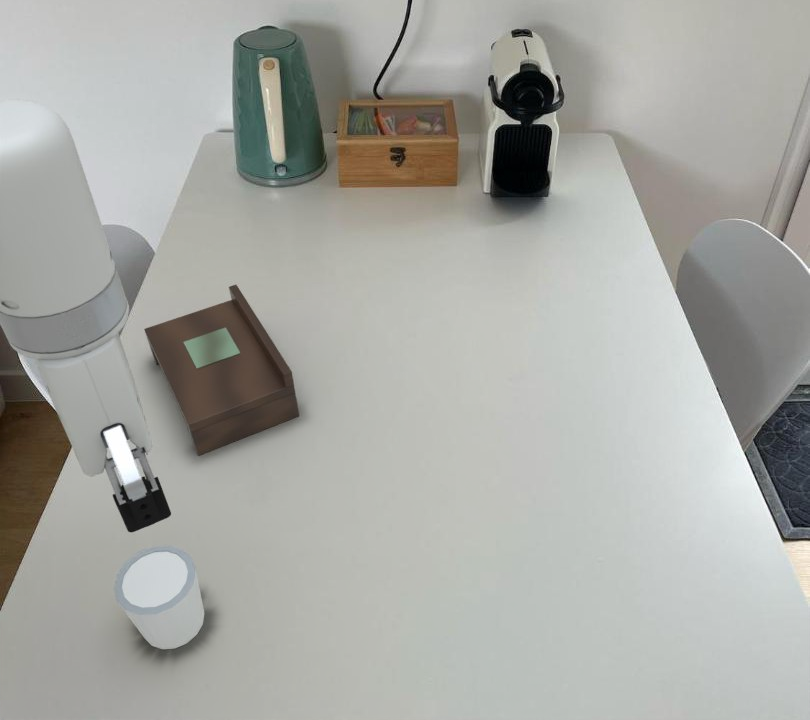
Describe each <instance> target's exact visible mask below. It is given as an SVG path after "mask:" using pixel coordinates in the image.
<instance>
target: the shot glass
mask: <svg viewBox="0 0 810 720" xmlns="http://www.w3.org/2000/svg"><path fill="white" fill-rule="evenodd" d="M113 592H114V594H115V598H116V602H117V603H118V605H119V607H121V609H122V610H123V611H124V613H125V614H126V615H127V617H128V618H129V620H130V621H131V622H132V623H133V625H134V626H135V628H136V629H137V630H138V632H139V633H140V634H141V636H142V637H143V639H144V640H146V642H147V643H148V644H149V645H150V646H151V647H154V648H156V649H160V650H173V649H178V648H179V647H182V646H184V645H187V644H188V643H189V642H190V641H192V640H193V639H194V638H195V637H196V636H197V635H198V633H199V631H200V630H201V628H202V627H203V624H204V620H205V608H204V605H203V604H204V603H203V598H202V593H201V589H200V585H199V578H198V573H197V570H196V566H195V563H194V560H193V557H192V556H191V555H189V553H187V552H186V551H185V550H184V549H183V548H180V547H177V546H174V545H171V544H169V545H168V544H167V545H166V544H165V545H154V546H151V547H149V548H146V549H143V550H141V551H138V552H137V553H136V554H135V555H133V556H132V557H131V558H129V559H128V560H127V561H125V562H124V564H123V566H122V568H121V569H120V570H119V571H118V573H116V578H115V581H114V587H113Z"/></svg>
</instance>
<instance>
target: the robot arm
mask: <svg viewBox="0 0 810 720" xmlns="http://www.w3.org/2000/svg"><path fill="white" fill-rule="evenodd" d="M103 227H104V226H103V224H102V221H101V218H100V215H99V212H98V209H97V205H96V203H95V199H94V197H93V194H92V191H91V189H90V185H89V183H88V179H87V176H86V173H85V170H84V167H83V164H82V161H81V158H80V155H79V152H78V150H77V146H76V144H75V141H74V137H73V136H72V133H71V131H70V128H69V127H68V125H67V123H66V121H64V119H63V118H62V117H61V116H60V114H59V113H58V112H56V111H55V110H54V109H52V108H51V107H49V106H48V105H46V104H42V103H39V102H37V101H33V100H28V99H21V98H20V99H18V98H17V99H16V98H14V99H11V98H9V99H0V326H1V330H2V331H3V333H4V335H5V337H6V339H7V341H8V344H9V345H10V347H11V348H12V349H13V351H16V352H17V353H18V354H19V355H21V356H24V357H26V358H29V359H34V361H35V363H36V366H37V369H38V372H39V374H40V376H41V379H42V381H43V385H44V387H45V388H46V391H47V393H48V396H49V398H50V400H51V402H52V405H53V407H54V409H55V411H56V413H57V417H58V418H59V421H60V422H61V425H62V427H63V430H64V432H65V434H66V436H67V438H68V440H69V443H70V446H71V447H72V450H73V453H74V454H75V457H76V459H77V462H78V464H79V466H80V469H81V471H82V474H84V475H85V476H87V477H90V478H93V477H95V476H96V475H100V474H103V473H104V471H106V474H107V477H108V479H109V482H110V485H111V487H112V490H113V494H112V498H113V501H114V503H115V506H116V508H117V510H118V512H119V515H120V516H121V519H122V521H123V523H124V526H125V528H126V530H127V532H128V533H135V532H138V531H140V530H143V529H145V528H148V527H150V526H153V525H154V524H157V523H159V522H161V521H163V520H166V519H168V518H170V517H171V516H172V511H171V509H170V506H169V504H168V500H167V498H166V496H165V492H164V490H163V486H162V485H161V482H160V479H159V477H158V476H156V477H155V476H154V473H153V471H152V468H151V466H150V462H149V461H148V459H147V456H148V455H149V454H150V452H151V451H152V449H153V444H152V439H151V435H150V431H149V427H148V424H147V420H146V416H145V412H144V409H143V406H142V405H143V404H142V402H141V399H140V396H139V392H138V389H137V388H138V387H137V385H136V383H135V378H134V376H133V372H132V370H131V366H130V363H129V361H128V357H127V355H126V351H125V349H124V345H123V343H122V340H121V337H120V334H119V333H120V332H121V330H122V329H123V327H125V325H126V323H127V321H128V318H129V314H130V306H129V301H128V299H127V295H126V293H125V290H124V287H123V283H122V280H121V278H120V275H119V272H118V269H117V266H116V263H115V260H114V257H113V254H112V251H111V248H110V245H109V242H108V240H107V237H106V233H105V230H104V228H103ZM128 441H129V442H130V443H132V444H133V445H134V446H135V448H133V449H131V447H130V445H129V442H128ZM108 449H109V452H110V454H111V457H109V458H108V456H107V455H108ZM137 459H138V461H139V464H140V466H141V469H142V472H143V475H144V476H142V475H141V473H140V470H139V468H138V465H137V462H136V460H137ZM115 468H116V470H115ZM116 471H117V472H116ZM117 474H118V475H117ZM118 476H119V477H118ZM119 478H120V480H119ZM120 481H121V482H120ZM121 483H122V484H121Z"/></svg>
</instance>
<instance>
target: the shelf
mask: <svg viewBox="0 0 810 720" xmlns="http://www.w3.org/2000/svg"><path fill="white" fill-rule="evenodd" d="M228 291H229V294H230V295H229V296H230V300H226V301H224V302H222V303H218V304H215V305H212V306H209V307H205V308H203V309H199V310H197V311H193V312H190V313H187V314H185V315H182V316H179V317H176V318H173V319H170V320H166V321H164V322H161V323H157V324H155V325H152V326H149V327H146V328H144V333H145V336H146V339H147V342H148V345H149V349H150V351H151V355H152V357H153V360H154V363H155V365H159V367H160V369H161V371H162V373H163V375H164V378H165V379H166V382H167V384H168V387H169V388H170V390H171V393H172V395H173V397H174V399H175V402H176V403H177V406H178V408H179V410H180V412H181V415H182V416H183V419H184V421H185V423H186V425H187V429H188V432H189V435H190V437H191V441H192V444H193V447H194V450H195V452H196V455H197V456H202V455H203V454H206V453H208V452H211V451H214V450H217V449H219V448H221V447H224V446H226V445H229V444H232V443H234V442H237V441H239V440H242V439H245V438H247V437H249V436H252V435H255V434H258V433H260V432H262V431H265V430H267V429H269V428H272V427H275V426H278V425H280V424H283V423H285V422H287V421H290V420H293V419H295V418H298V417H300V411H299V406H298V400H297V399H298V398H297V394H296V388H295V382H294V376H293V371H292V370H291V368H290V366H289V365H288V364H287V362H286V360H285V359H284V357H283V356H282V354H281V353H280V351H279V349H278V348H277V346H276V344H275V343H274V342H273V339H272V338H271V336H270V335H269V333H268V331H267V330H266V329H265V327H264V325H263V324H262V321H260V319H259V318H258V316H257V315H256V313H255V311H254V310H253V308H252V306H251V305H250V303H249V302H248V300H247V299H246V298H245V296H244V294H243V292H242V291H241V289H240V288H239V286H238V284H233V285H230V286H228Z"/></svg>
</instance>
